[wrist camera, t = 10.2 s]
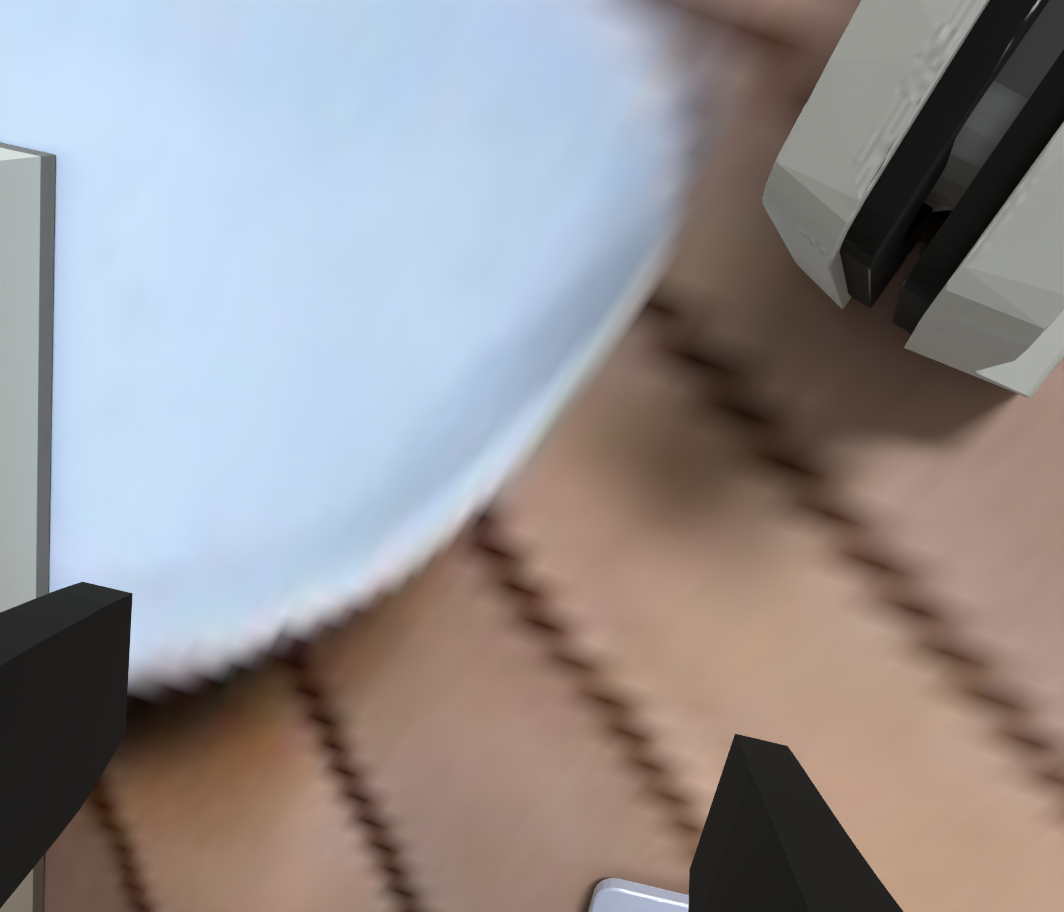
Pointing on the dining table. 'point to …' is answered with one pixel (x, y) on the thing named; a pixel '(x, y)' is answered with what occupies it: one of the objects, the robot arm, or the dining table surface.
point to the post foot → (25, 398)
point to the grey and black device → (939, 179)
